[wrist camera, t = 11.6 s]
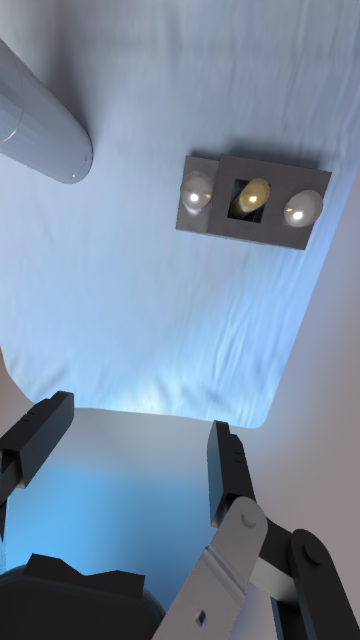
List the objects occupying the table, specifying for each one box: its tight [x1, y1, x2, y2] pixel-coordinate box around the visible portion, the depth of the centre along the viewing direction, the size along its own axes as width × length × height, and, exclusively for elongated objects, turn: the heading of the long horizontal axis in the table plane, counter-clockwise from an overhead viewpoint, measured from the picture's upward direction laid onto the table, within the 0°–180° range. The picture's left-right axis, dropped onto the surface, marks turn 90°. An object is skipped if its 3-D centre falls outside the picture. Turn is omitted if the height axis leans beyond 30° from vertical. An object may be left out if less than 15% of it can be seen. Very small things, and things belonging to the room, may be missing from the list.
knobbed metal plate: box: [176, 154, 332, 250], centre depth 31 cm, size 20×10×6 cm, turn 81°
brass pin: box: [231, 178, 270, 218], centre depth 30 cm, size 3×3×10 cm
